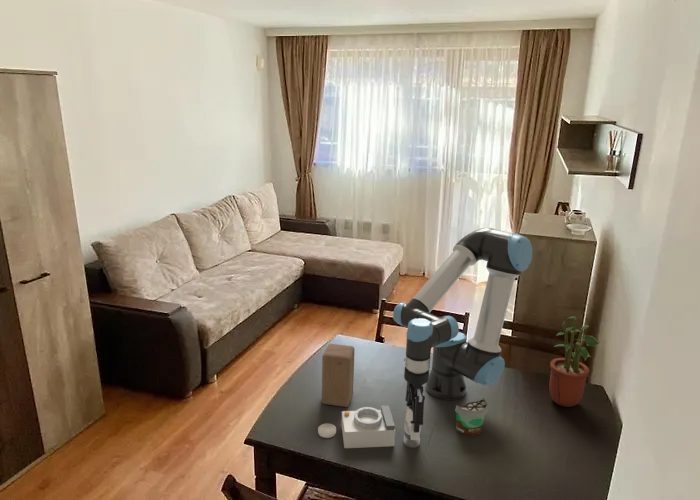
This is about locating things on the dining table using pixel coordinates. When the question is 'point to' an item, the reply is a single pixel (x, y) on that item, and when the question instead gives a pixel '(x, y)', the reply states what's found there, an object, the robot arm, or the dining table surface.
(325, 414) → the dining table surface
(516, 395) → the dining table surface
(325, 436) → the rear cap
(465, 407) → the food container
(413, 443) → the grey tall rounded cylinder
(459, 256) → the robot arm
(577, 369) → the potted plant
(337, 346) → the wooden block
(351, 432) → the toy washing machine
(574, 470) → the dining table surface
